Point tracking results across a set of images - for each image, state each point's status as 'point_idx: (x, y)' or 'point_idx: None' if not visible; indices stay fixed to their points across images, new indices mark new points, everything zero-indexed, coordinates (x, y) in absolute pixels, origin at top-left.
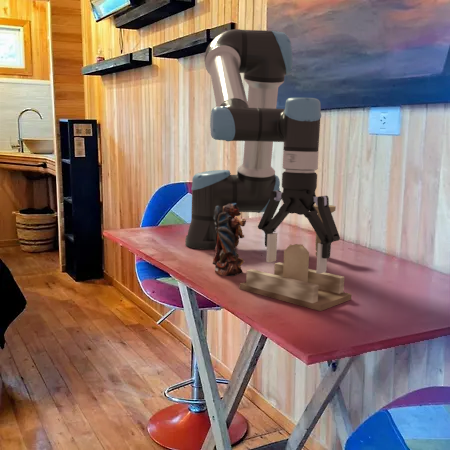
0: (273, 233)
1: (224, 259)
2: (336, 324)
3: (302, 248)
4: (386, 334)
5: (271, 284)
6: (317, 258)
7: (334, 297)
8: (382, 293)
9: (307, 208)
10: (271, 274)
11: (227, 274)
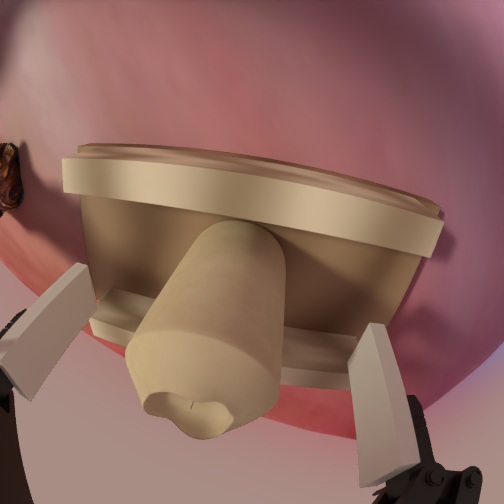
0: (7, 374)
1: None
2: (404, 378)
3: (238, 419)
4: (473, 363)
5: None
6: (357, 419)
7: (396, 278)
8: (485, 77)
9: None
10: None
11: (17, 205)
